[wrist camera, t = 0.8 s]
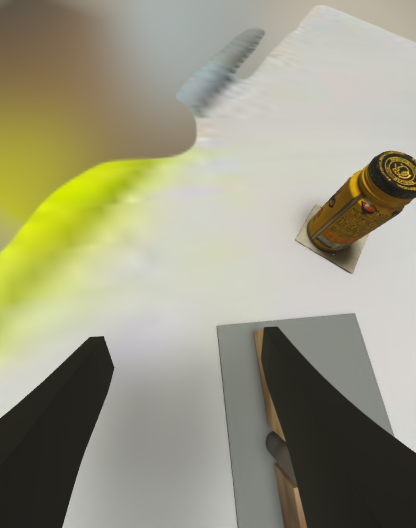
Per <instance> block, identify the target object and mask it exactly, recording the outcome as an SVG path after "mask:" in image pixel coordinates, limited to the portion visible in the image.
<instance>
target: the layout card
mask: <svg viewBox="0 0 416 528" xmlns="http://www.w3.org/2000/svg"><path fill="white" fill-rule="evenodd" d="M275 326H277V327H279V328H280V330H281V331H282V332H283V333H284V334H285V336H286V337H287V338H288V339H289V340H290V341H291V343H292V344H293V345H294V346H295V347H296V348H297V349H298V350H299V352H300V353H301V354H302V355H303V356H304V357H305V358H306V359H307V360H308V361H309V362H310V363H311V364H312V365H313V367H314V368H315V369H316V370H317V371H318V372H319V373H320V374H321V375H322V376H323V377H324V378H325V379H326V380H327V381H328V382H330V383H331V384H332V385H333V386H334V387H335V388H336V389H337V390H338V391H339V392H340V393H341V394H342V395H343V396H345V397H346V398H347V399H348V400H349V401H350V402H351V403H353V404H354V405H355V406H356V407H357V408H358V409H359V410H361V411H362V412H363V413H364V414H366V415H367V416H368V417H369V418H370V419H372V420H373V421H374V422H375V423H376V424H378V425H379V426H380V427H382V428H383V429H384V430H386V431H387V432H388V433H390V434H391V435H392V436H394V434H393V431H392V428H391V425H390V422H389V419H388V416H387V412H386V409H385V406H384V403H383V400H382V397H381V394H380V391H379V387H378V384H377V381H376V378H375V375H374V372H373V369H372V365H371V362H370V359H369V356H368V353H367V350H366V347H365V343H364V340H363V337H362V334H361V331H360V328H359V325H358V321H357V318H356V315H355V313H354V314H343V315H332V316H321V317H310V318H299V319H288V320H277V321H266V322H255V323H244V324H233V325H222V326H217V332H218V341H219V351H220V360H221V370H222V379H223V389H224V398H225V407H226V417H227V426H228V436H229V445H230V455H231V464H232V473H233V483H234V492H235V502H236V511H237V521H238V528H284V524H283V518H282V511H281V505H280V499H279V492H278V486H277V480H276V473H275V467H274V463H277V461H276V460H275V459H274V457H273V456H272V455H271V454H270V453H269V451H268V450H267V447H266V438H267V435H268V434H269V433H270V432H272V431H273V430H272V429H271V428H270V427H269V426H268V419H267V413H266V407H265V401H264V394H263V388H262V382H261V375H260V369H259V363H258V357H257V350H256V344H255V338H254V331H258V330H261V329H264V327H275Z"/></svg>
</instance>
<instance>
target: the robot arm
mask: <svg viewBox="0 0 416 528" xmlns="http://www.w3.org/2000/svg"><path fill="white" fill-rule="evenodd" d="M261 362H262V367H263V371H264V376H265V380H266V384H267V387H268V390H269V393H270V396H271V399H272V402H273V405H274V408H275V411H276V414H277V417H278V419H279V422H280V425H281V428H282V431H283V434H284V437H285V441H286V444H287V447H288V451H289V455H290V459H291V462H292V466H293V470H294V474H295V478H296V482H297V487H298V491H299V495H300V499H301V503H302V508H303V512H304V516H305V520H306V525H307V528H416V453H415V452H414V451H412V450H411V449H409V448H408V447H407V446H405V445H404V444H403V443H402V442H400V441H399V440H398V439H396V438H395V437H394V436H392V435H391V434H390V433H388V432H387V431H386V430H384V429H383V428H382V427H380V426H379V425H378V424H376V423H375V422H374V421H373V420H372V419H370V418H369V417H368V416H367V415H366V414H364V413H363V412H362V411H361V410H359V409H358V408H357V407H356V406H355V405H354V404H353V403H351V402H350V401H349V400H348V399H347V398H346V397H345V396H343V395H342V394H341V393H340V392H339V391H338V390H337V389H336V388H335V387H334V386H333V385H332V384H331V383H330V382H328V381H327V380H326V379H325V378H324V377H323V376H322V375H321V374H320V373H319V372H318V371H317V370H316V369H315V368H314V367H313V365H312V364H311V363H310V362H309V361H308V360H307V359H306V358H305V357H304V356H303V355H302V354H301V353H300V352H299V350H298V349H297V348H296V347H295V346H294V345H293V344H292V343H291V341H290V340H289V339H288V338H287V337H286V336H285V334H284V333H283V332H282V331H281V330H280V328H279V327H277V326H275V327H264V330H263V341H262V352H261ZM113 371H114V365H113V362H112V359H111V356H110V354H109V351H108V348H107V345H106V342H105V339H104V336H100V337H90V338H88V339H87V340H86V341H85V342H84V343H83V344H82V345H81V346H80V347H79V348H78V349H77V350H76V351H75V352H74V353H73V354H72V355H71V356H70V357H68V358H67V359H66V360H65V361H64V362H63V363H62V364H61V365H60V366H59V367H58V368H57V369H56V370H55V371H54V372H53V373H52V374H51V375H50V376H48V377H47V378H46V379H45V380H44V381H43V382H42V383H41V384H40V385H39V386H37V387H36V388H35V389H34V390H33V391H32V392H31V393H29V394H28V395H27V396H26V397H25V398H24V399H23V400H22V401H20V402H19V403H18V404H17V405H16V406H15V407H13V408H12V409H11V410H10V411H9V412H7V413H6V414H5V415H4V416H3V417H1V418H0V528H62V526H63V523H64V519H65V515H66V512H67V508H68V505H69V501H70V497H71V494H72V491H73V487H74V484H75V481H76V477H77V474H78V471H79V467H80V464H81V461H82V458H83V455H84V453H85V450H86V447H87V445H88V442H89V439H90V437H91V434H92V432H93V429H94V427H95V424H96V422H97V419H98V416H99V414H100V411H101V409H102V406H103V403H104V401H105V398H106V396H107V393H108V390H109V386H110V383H111V379H112V375H113Z"/></svg>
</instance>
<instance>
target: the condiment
mask: <svg viewBox="0 0 416 528" xmlns="http://www.w3.org/2000/svg"><path fill="white" fill-rule="evenodd" d="M413 198H416V160H415V159H414V158H412V157H411V156H409V155H407V154H404V153H401V152H397V151H386V152H383V153H381V154H380V155H378V156H376V157H374V158H373V159H372V161H371V162H370V164H368V165H367V166H366V167H365V168H364V169H363V170H360V171H358V172H356V173H355V174H354V175H353V176H352V177H350V178H349V179H348V181H347V182H346V183H345V184H344V185H343V186H342V187H341V188H340V189H339V190H338V191H337V192H336V193H335V194H334V195H333V196H332V197H331V198H330V199H329V201H328V202H326V204H325V205H324V206H323V207H319V206H318V205H317V204H316V205H315V207H314V208H313V210H312V212H311V214H310V215H309V217H308V219H307V220H306V222H305V224H304V226H303V227H302V229H301V231H300V233H299V235H298V236H297V238H296V240H297V241H298V242H300V243H301V244H303V245H305V246H306V247H308V248H310V249H311V250H313V251H314V252H316V253H318V254H319V255H321V256H323V257H325V258H327V259H329V260H331V261H332V262H333V263H335V264H337V265H338V266H340V267H342V268H344V269H346V270H347V271H349V272H351V273H352V274H353V272H354V269H355V266H356V263H357V261H358V258H359V256H360V254H361V250H362V249H363V247H364V245H365V242H366V240H367V238H368V235H369V234H368V233H370V232H371V231H373V230H375V229H376V228H378V227H379V226H381V225H382V224H384V223H385V222H387V221H389V220H390V219H392V218H393V217H395V216H396V215H398V214H399V213H400V212H401V211H402V210H403V208H404V206H405V205H407V204H409V203H410V202H411V201H412V200H413ZM333 254H334V255H333Z"/></svg>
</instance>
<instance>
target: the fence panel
mask: <svg viewBox="0 0 416 528" xmlns="http://www.w3.org/2000/svg"><path fill="white" fill-rule="evenodd" d="M263 330H264V329H261V330H258V331H254V338H255V344H256V350H257V357H258V363H259V369H260V375H261V382H262V388H263V394H264V401H265V407H266V413H267V419H268V426H269V427H270V428H271V429H272V430H273V431H274V432H275V433H276V434H278V435H279V436H280V437H281V438H282V439H283V440H284V441H285V437H284V434H283V431H282V428H281V425H280V422H279V419H278V417H277V414H276V411H275V408H274V405H273V402H272V399H271V396H270V393H269V390H268V387H267V384H266V380H265V376H264V371H263V367H262V362H261V352H262V341H263ZM285 442H286V441H285Z"/></svg>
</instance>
